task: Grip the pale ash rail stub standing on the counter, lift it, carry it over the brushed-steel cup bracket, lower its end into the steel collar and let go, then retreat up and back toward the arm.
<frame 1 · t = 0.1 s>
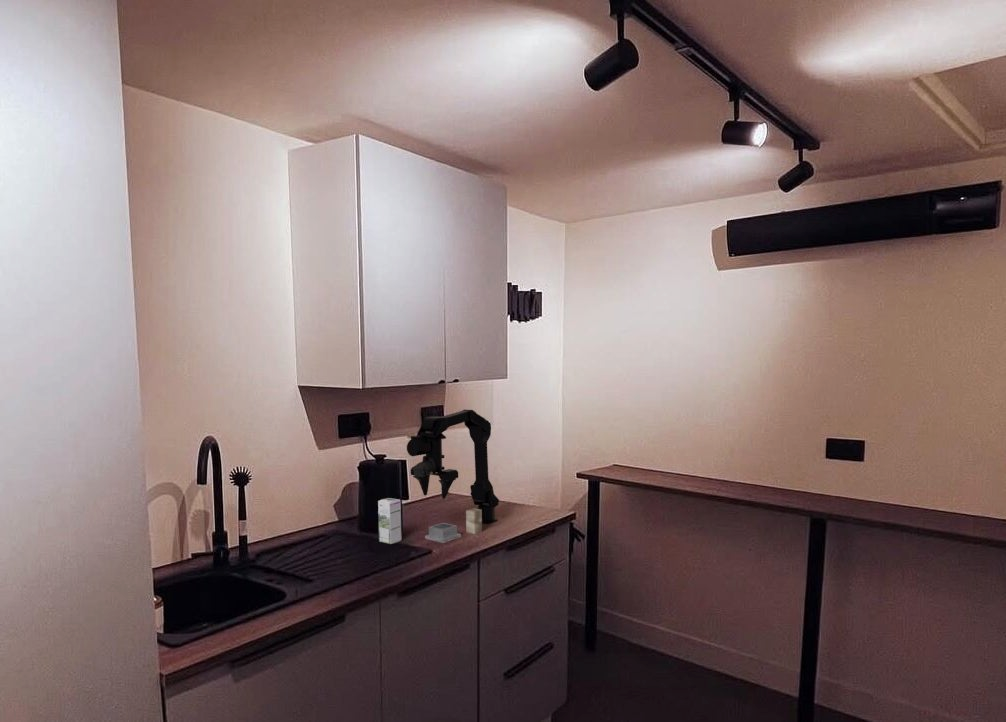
hand: (434, 496, 215), 15 cm above the worktop, tool pointing down, fingers open, 9 cm apart
rail stub: (474, 532, 222), on the worktop
cup bracket: (443, 537, 215), on the worktop
syrup box: (390, 541, 212), on the worktop
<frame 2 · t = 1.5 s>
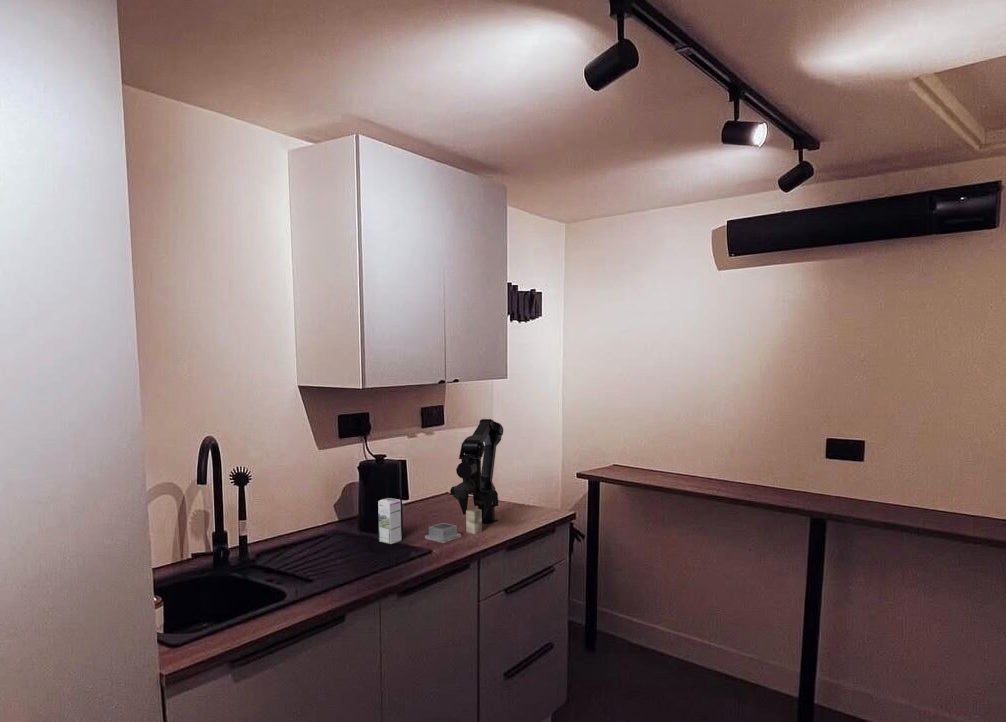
hand: (474, 516, 222), 6 cm above the worktop, tool pointing down, fingers open, 9 cm apart
nothing on the worktop moved.
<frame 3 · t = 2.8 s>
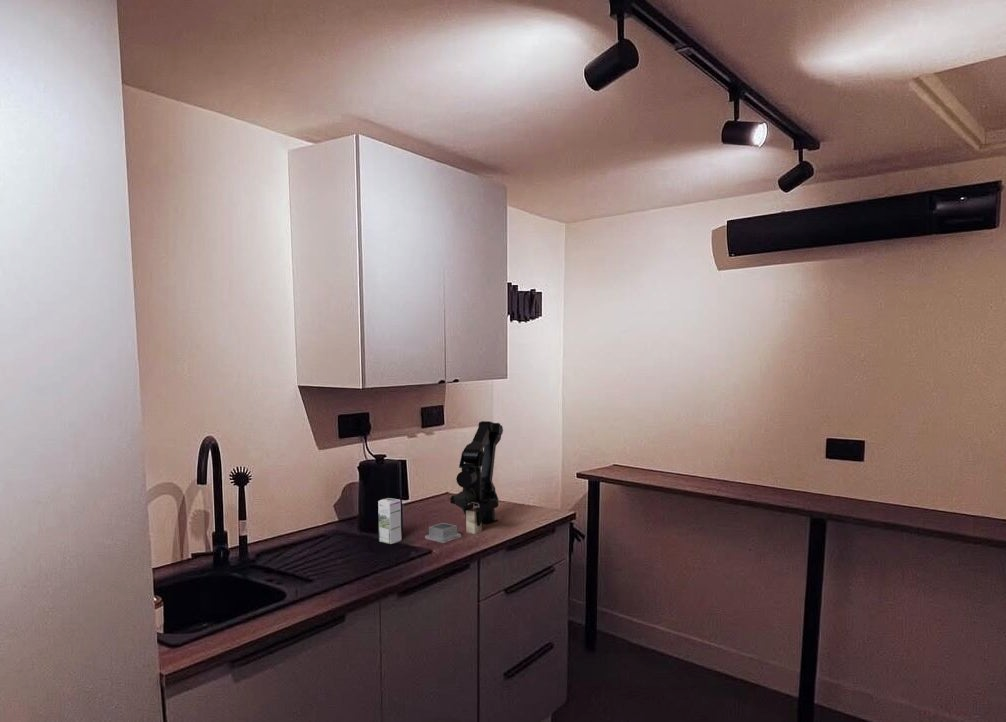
hand: (474, 524, 222), 3 cm above the worktop, tool pointing down, fingers closed on rail stub, 4 cm apart
rail stub: (474, 531, 222), on the worktop, touching gripper
everything else where it was.
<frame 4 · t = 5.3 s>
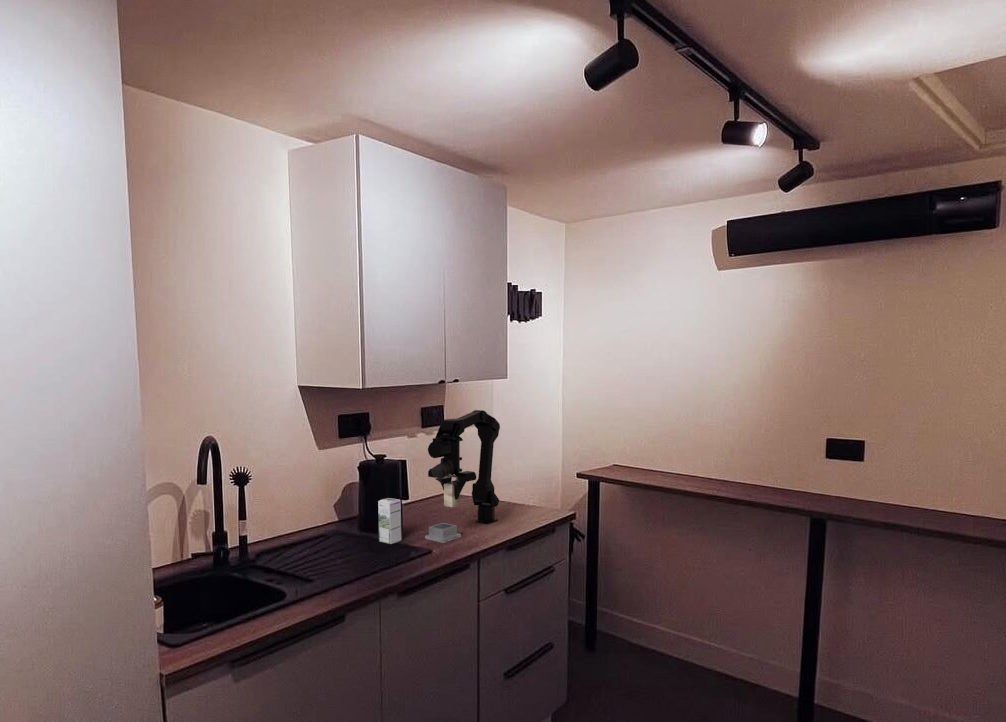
hand: (451, 498, 217), 13 cm above the worktop, tool pointing down, fingers closed on rail stub, 4 cm apart
rail stub: (451, 505, 217), point 11 cm above the worktop, touching gripper
everything else where it was.
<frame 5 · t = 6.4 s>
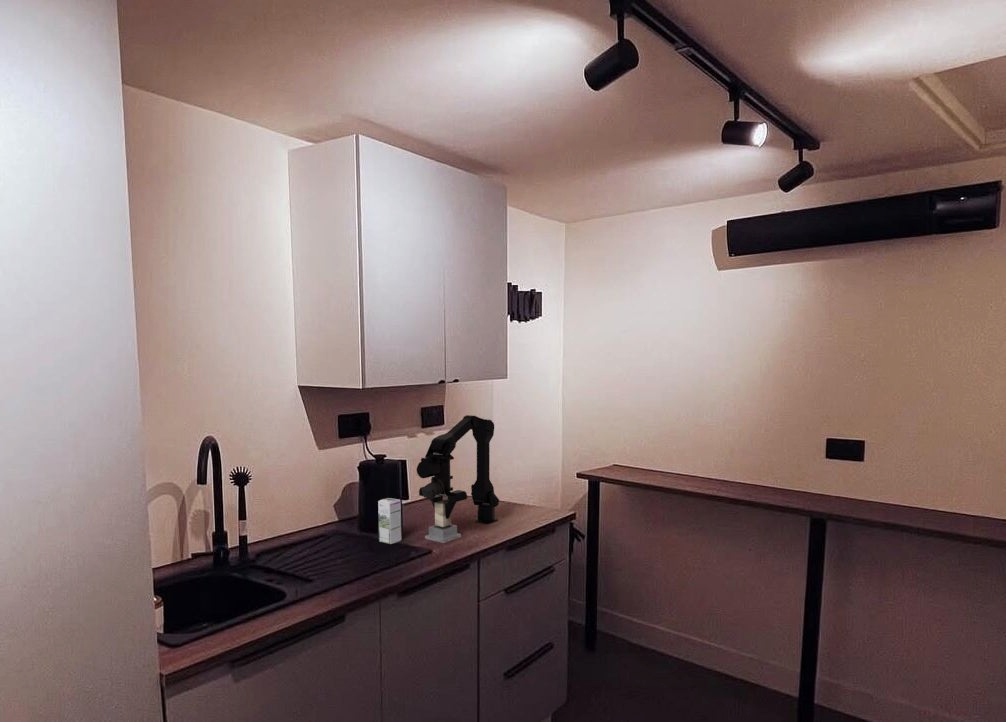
hand: (443, 517, 215), 7 cm above the worktop, tool pointing down, fingers closed on rail stub, 4 cm apart
rail stub: (443, 524, 215), point 5 cm above the worktop, touching gripper
everything else where it was.
when the fingers open (5 cm above the worktop, at t = 7.5 s): rail stub drops 1 cm, resting on cup bracket.
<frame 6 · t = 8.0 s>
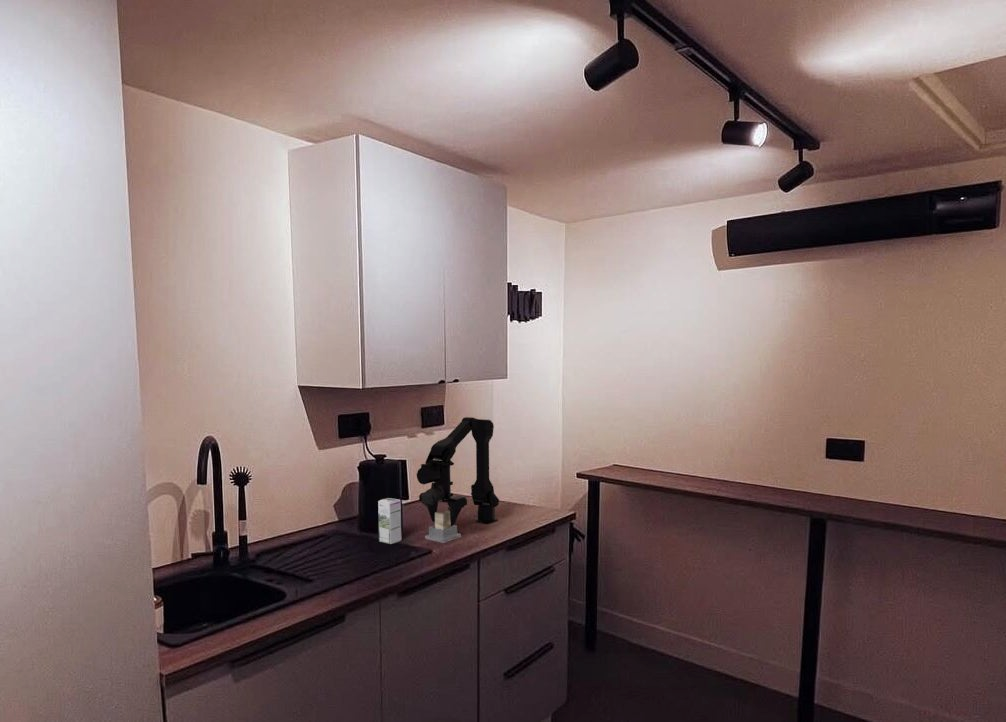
hand: (443, 523, 215), 5 cm above the worktop, tool pointing down, fingers open, 9 cm apart
rail stub: (443, 534, 215), point 1 cm above the worktop, touching cup bracket
everything else where it was.
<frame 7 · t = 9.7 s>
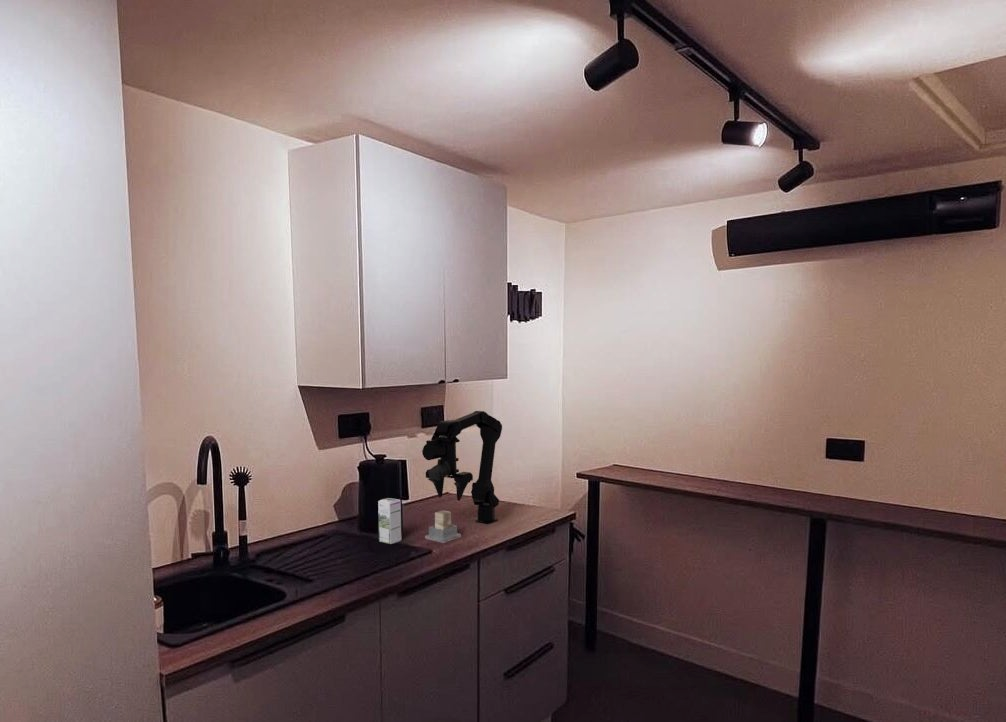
hand: (449, 498, 220), 13 cm above the worktop, tool pointing down, fingers open, 9 cm apart
nothing on the worktop moved.
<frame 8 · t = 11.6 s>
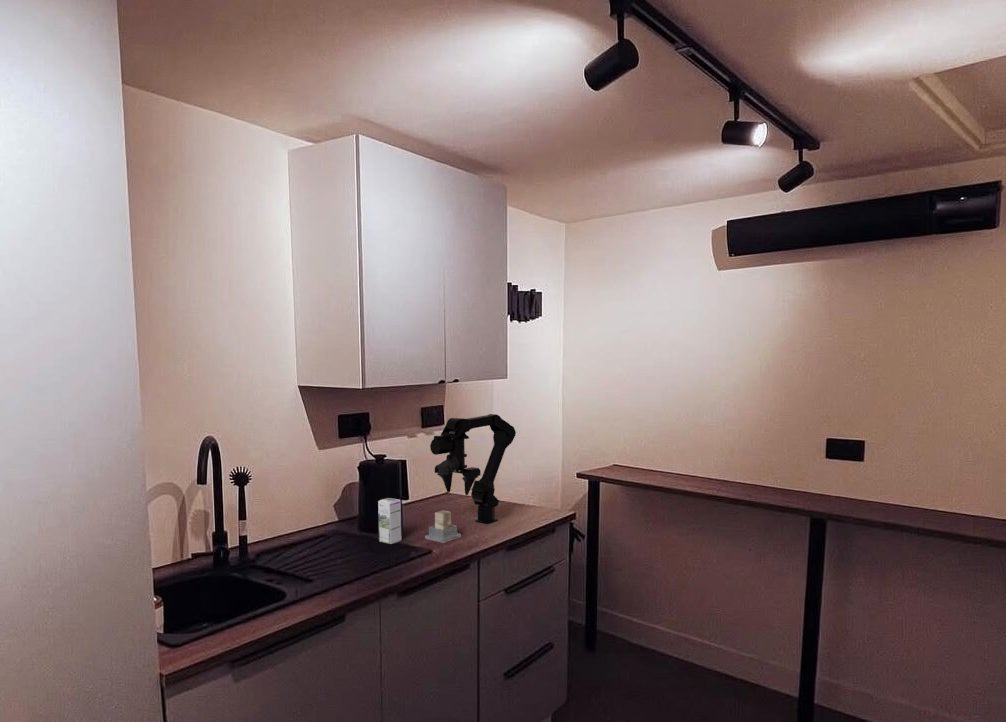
hand: (457, 493, 227), 13 cm above the worktop, tool pointing down, fingers open, 9 cm apart
nothing on the worktop moved.
at the end: rail stub 0.0 cm off-centre on the cup bracket, point 1.0 cm above the cup bracket's base; rail stub tilted 0°; the gripper is holding nothing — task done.
